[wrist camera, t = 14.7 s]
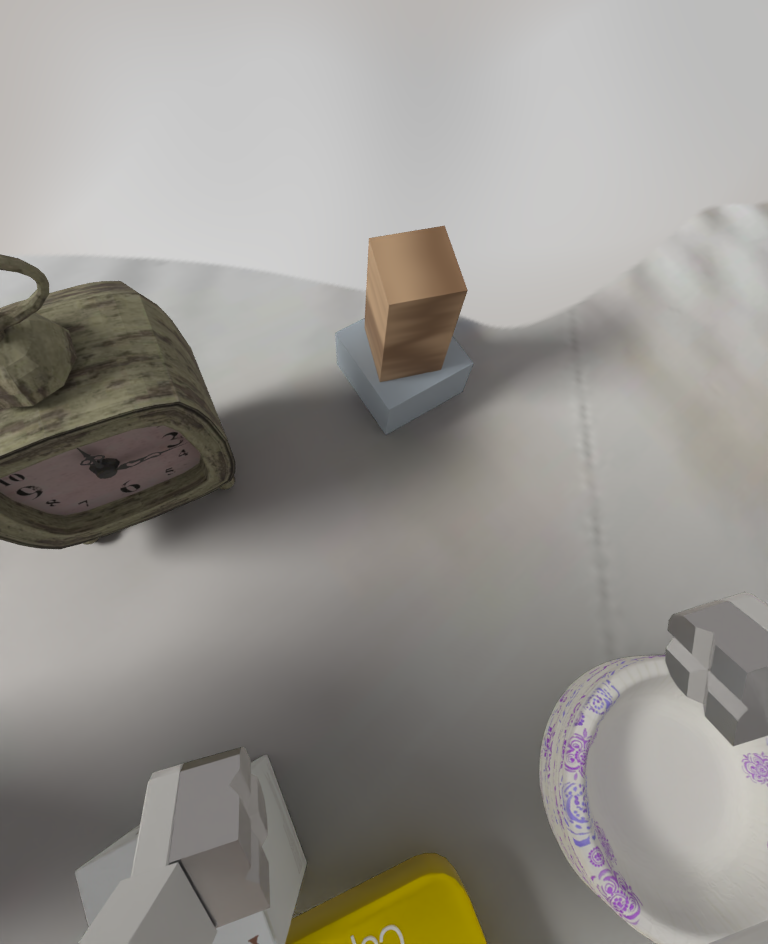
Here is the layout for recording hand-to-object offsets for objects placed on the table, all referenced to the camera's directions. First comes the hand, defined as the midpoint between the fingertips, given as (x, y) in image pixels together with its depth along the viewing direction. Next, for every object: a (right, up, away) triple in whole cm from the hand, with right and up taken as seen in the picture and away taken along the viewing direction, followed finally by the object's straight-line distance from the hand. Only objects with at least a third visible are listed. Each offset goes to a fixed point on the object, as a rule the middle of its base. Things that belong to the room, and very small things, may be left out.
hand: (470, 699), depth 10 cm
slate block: (0, +12, +38) cm, 40 cm away
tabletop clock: (-20, +4, +34) cm, 40 cm away
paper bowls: (+16, -17, +28) cm, 37 cm away
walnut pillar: (0, +14, +33) cm, 36 cm away
